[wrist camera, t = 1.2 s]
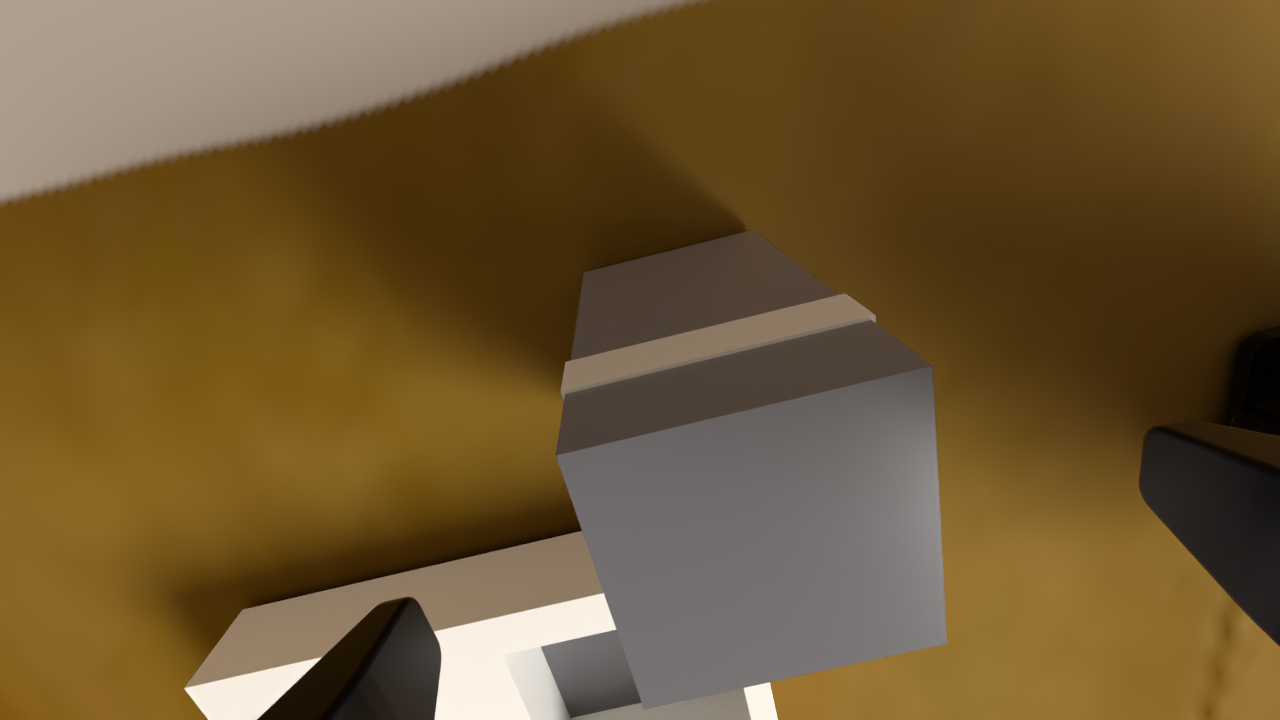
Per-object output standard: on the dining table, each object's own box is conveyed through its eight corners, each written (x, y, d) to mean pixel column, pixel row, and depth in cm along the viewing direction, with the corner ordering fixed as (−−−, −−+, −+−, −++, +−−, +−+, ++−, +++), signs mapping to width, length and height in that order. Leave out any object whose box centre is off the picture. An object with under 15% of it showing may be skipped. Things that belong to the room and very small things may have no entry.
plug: (755, 226, 13) (936, 360, 6) (781, 385, 15) (951, 646, 8) (581, 270, 14) (549, 452, 6) (624, 423, 15) (641, 712, 8)
